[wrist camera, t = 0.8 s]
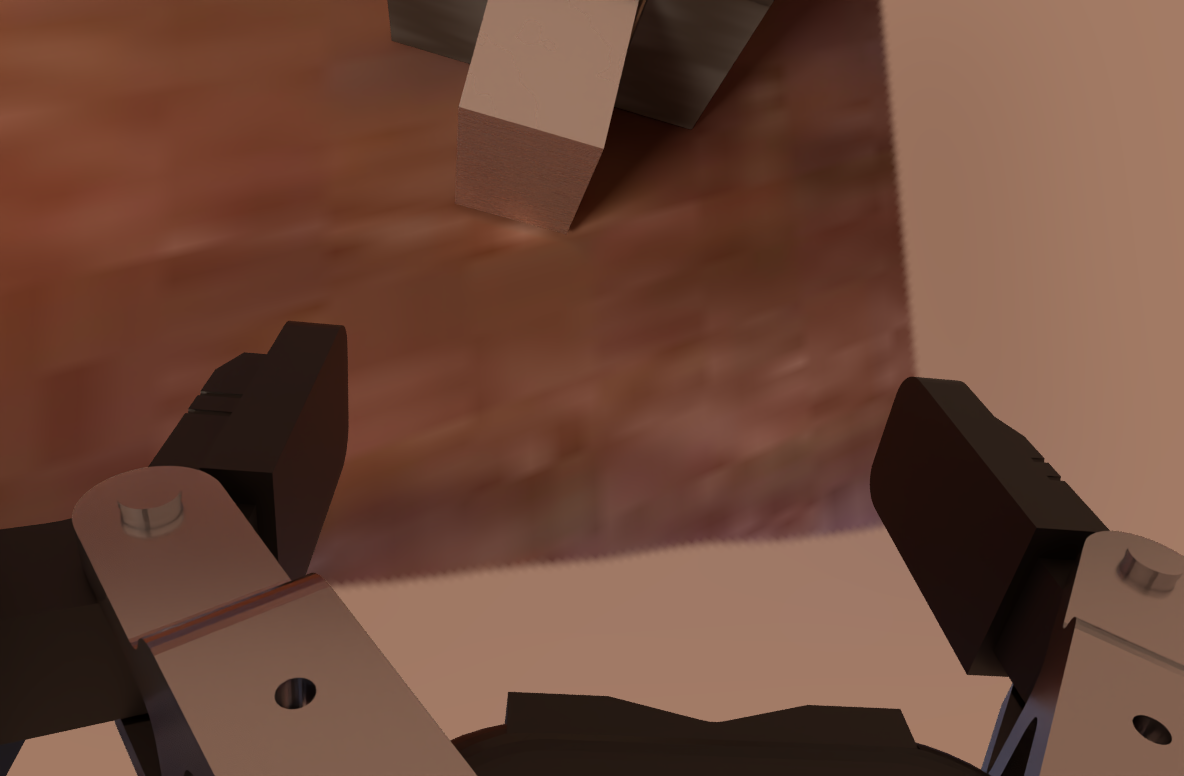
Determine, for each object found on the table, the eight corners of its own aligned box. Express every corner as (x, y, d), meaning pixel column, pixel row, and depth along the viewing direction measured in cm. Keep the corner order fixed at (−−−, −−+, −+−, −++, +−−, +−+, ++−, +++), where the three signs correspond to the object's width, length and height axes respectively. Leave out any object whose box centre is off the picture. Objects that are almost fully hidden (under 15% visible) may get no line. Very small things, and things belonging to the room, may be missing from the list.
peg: (454, 203, 37) (458, 106, 29) (519, -38, 39) (541, -196, 31) (566, 234, 38) (603, 148, 29) (623, -5, 40) (674, -151, 31)
